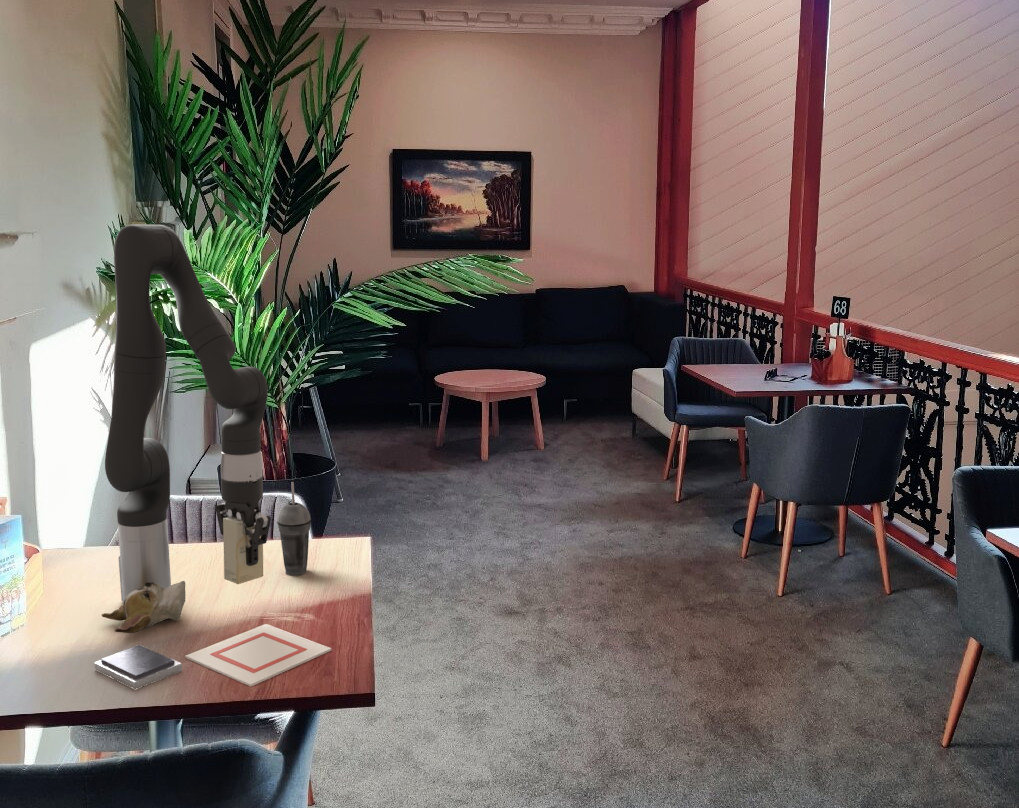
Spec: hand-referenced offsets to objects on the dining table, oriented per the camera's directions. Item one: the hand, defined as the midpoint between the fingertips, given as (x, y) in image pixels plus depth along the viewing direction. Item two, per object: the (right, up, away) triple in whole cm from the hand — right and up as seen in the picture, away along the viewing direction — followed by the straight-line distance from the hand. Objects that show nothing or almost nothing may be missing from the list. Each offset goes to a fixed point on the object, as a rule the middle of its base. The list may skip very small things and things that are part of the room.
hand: (243, 561), depth 195 cm
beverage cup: (+4, -7, +29) cm, 30 cm away
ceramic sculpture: (-18, -13, +1) cm, 22 cm away
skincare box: (0, -4, +1) cm, 4 cm away
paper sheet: (+6, -15, -12) cm, 20 cm away
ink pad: (-13, -16, -18) cm, 28 cm away
